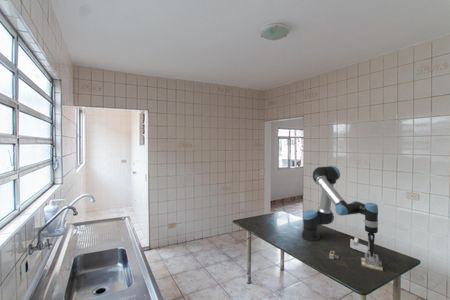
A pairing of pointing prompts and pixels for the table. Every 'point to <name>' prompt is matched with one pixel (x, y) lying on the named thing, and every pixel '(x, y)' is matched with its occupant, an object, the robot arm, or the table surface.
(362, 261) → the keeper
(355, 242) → the bracket
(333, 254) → the beige box with knob
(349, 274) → the table surface
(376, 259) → the link
